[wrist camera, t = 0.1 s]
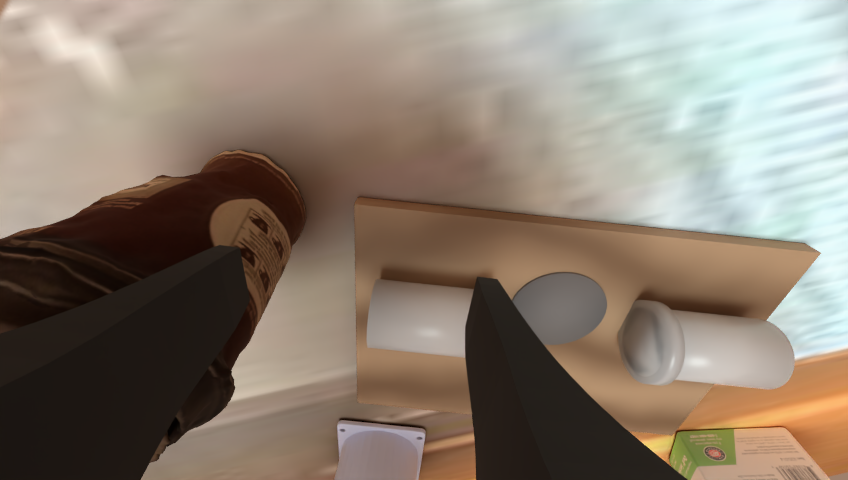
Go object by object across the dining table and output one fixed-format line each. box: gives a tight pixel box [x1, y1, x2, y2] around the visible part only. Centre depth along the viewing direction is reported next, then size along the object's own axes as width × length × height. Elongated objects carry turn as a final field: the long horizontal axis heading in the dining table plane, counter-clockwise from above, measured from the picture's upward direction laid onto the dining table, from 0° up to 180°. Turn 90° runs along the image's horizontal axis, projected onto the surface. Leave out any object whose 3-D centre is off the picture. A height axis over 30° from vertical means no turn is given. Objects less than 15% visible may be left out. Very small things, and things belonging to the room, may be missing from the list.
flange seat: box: [512, 272, 607, 345], centre depth 22 cm, size 6×6×1 cm
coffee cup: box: [0, 150, 306, 463], centre depth 15 cm, size 9×8×13 cm
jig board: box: [354, 197, 821, 435], centre depth 24 cm, size 18×26×1 cm
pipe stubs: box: [367, 279, 795, 389], centre depth 21 cm, size 5×23×5 cm, turn 85°
